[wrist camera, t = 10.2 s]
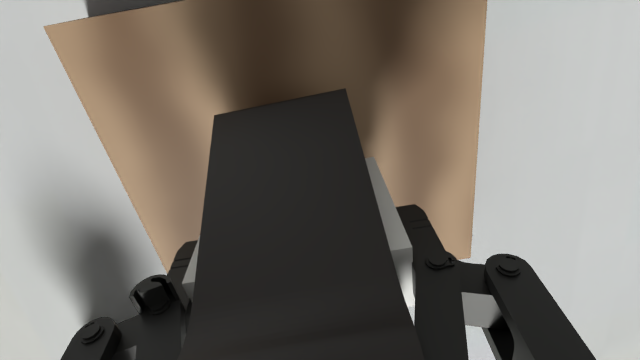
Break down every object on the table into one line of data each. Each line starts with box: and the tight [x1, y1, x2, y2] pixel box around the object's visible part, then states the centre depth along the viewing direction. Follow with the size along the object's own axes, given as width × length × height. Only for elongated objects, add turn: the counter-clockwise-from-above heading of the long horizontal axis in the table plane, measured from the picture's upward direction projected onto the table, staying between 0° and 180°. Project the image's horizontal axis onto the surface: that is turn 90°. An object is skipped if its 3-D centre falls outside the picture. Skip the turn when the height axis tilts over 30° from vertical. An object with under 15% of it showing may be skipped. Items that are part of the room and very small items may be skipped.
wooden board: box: [43, 0, 487, 274], centre depth 22 cm, size 20×18×4 cm
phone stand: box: [177, 88, 424, 360], centre depth 13 cm, size 9×6×12 cm, turn 10°
